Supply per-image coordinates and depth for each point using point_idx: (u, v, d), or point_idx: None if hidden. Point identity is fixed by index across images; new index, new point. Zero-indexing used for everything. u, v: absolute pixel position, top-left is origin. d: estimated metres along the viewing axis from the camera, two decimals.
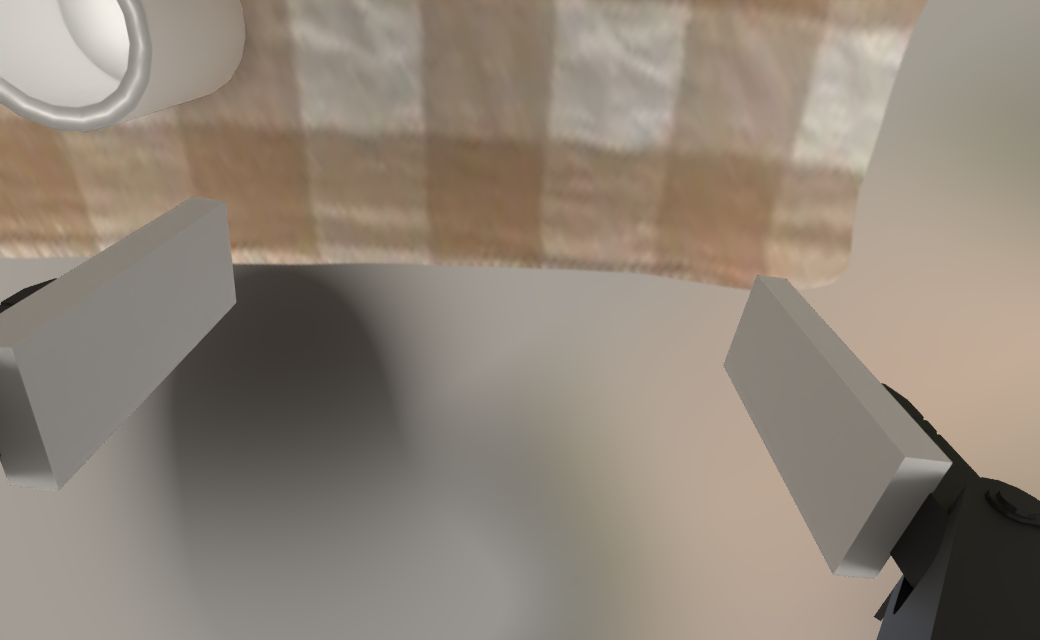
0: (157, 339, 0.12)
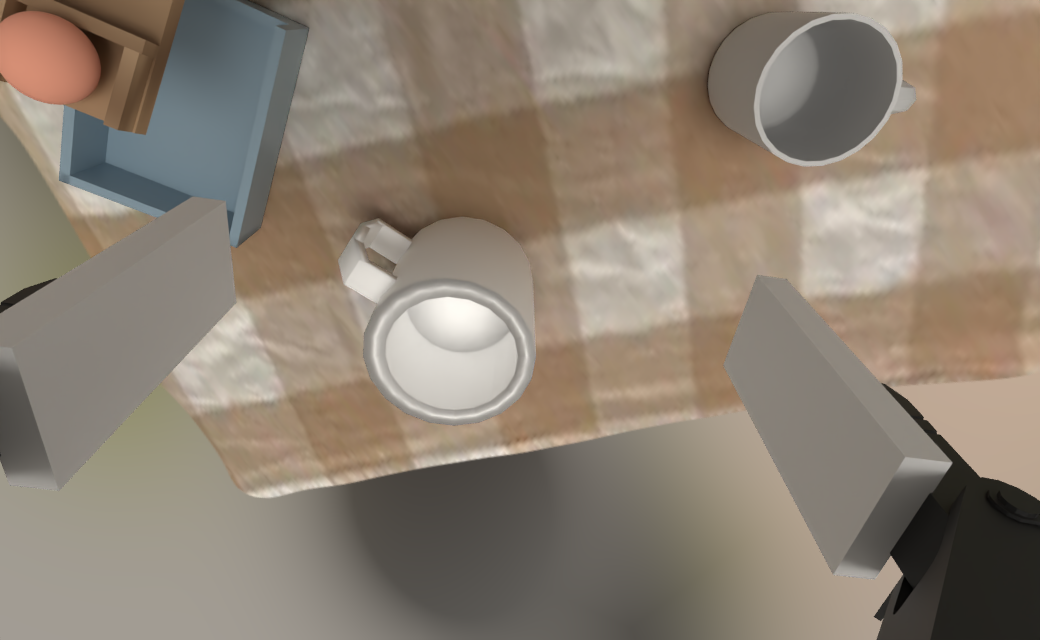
0: (158, 339, 0.12)
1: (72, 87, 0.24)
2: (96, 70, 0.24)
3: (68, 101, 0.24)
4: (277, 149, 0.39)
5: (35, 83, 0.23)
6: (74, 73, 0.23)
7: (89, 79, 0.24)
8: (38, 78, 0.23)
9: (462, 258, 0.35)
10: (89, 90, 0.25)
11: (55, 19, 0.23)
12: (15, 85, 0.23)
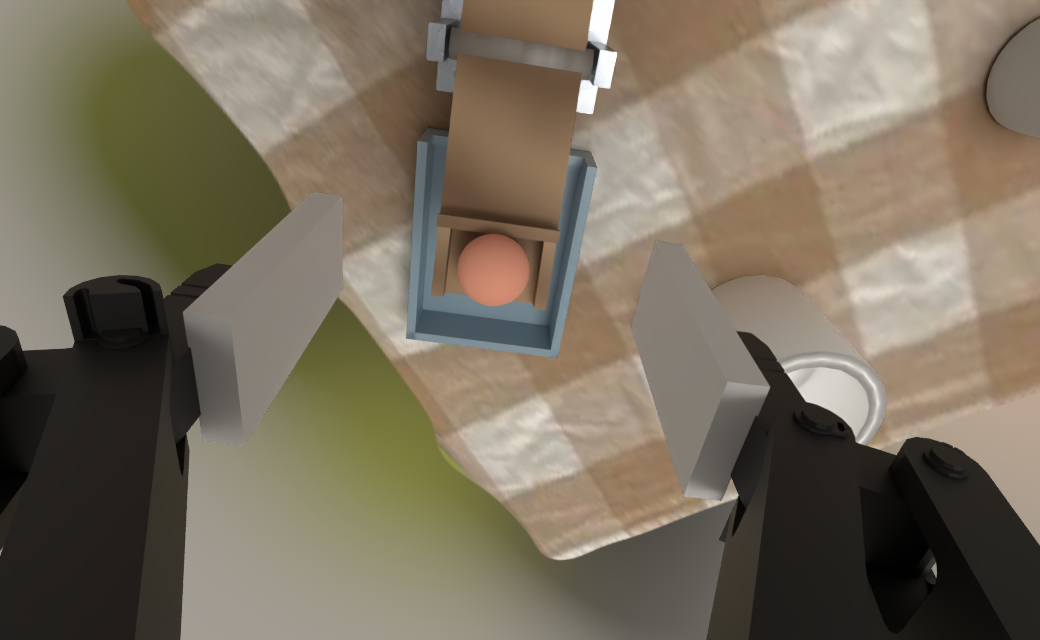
0: (300, 319, 0.13)
1: (522, 289, 0.28)
2: (529, 267, 0.29)
3: (513, 299, 0.29)
4: None
5: (502, 296, 0.27)
6: (525, 278, 0.28)
7: (528, 277, 0.28)
8: (505, 292, 0.27)
9: (789, 325, 0.37)
10: None
11: (503, 239, 0.28)
12: (483, 301, 0.28)
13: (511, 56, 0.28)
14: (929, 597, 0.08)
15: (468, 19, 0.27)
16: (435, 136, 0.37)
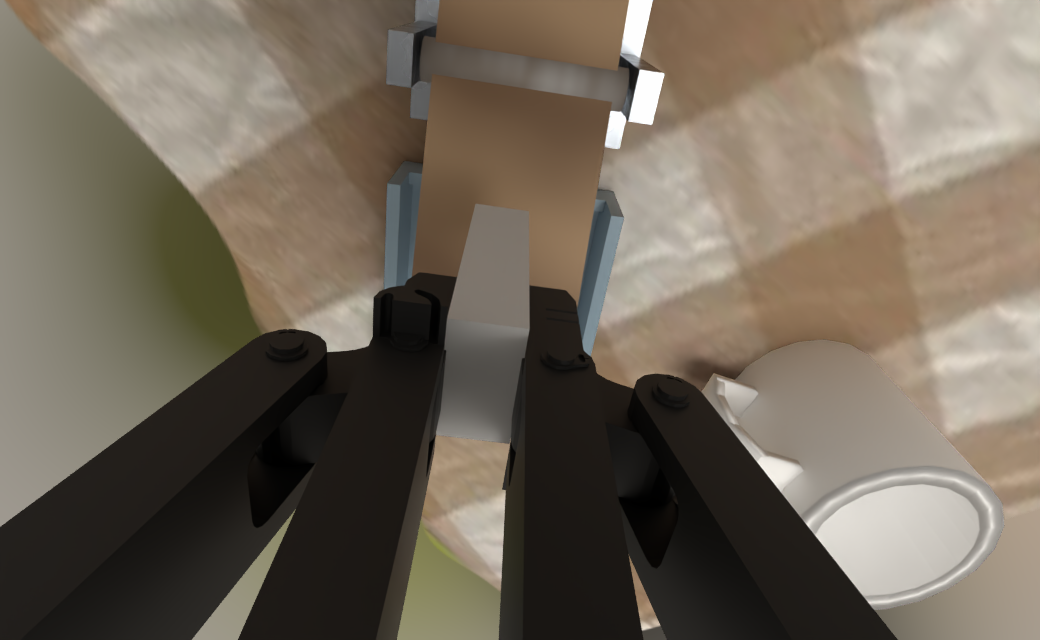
0: None
1: None
2: None
3: None
4: None
5: None
6: None
7: None
8: None
9: (873, 421, 0.29)
10: None
11: None
12: None
13: (509, 78, 0.19)
14: (676, 530, 0.08)
15: (447, 25, 0.19)
16: (412, 173, 0.29)
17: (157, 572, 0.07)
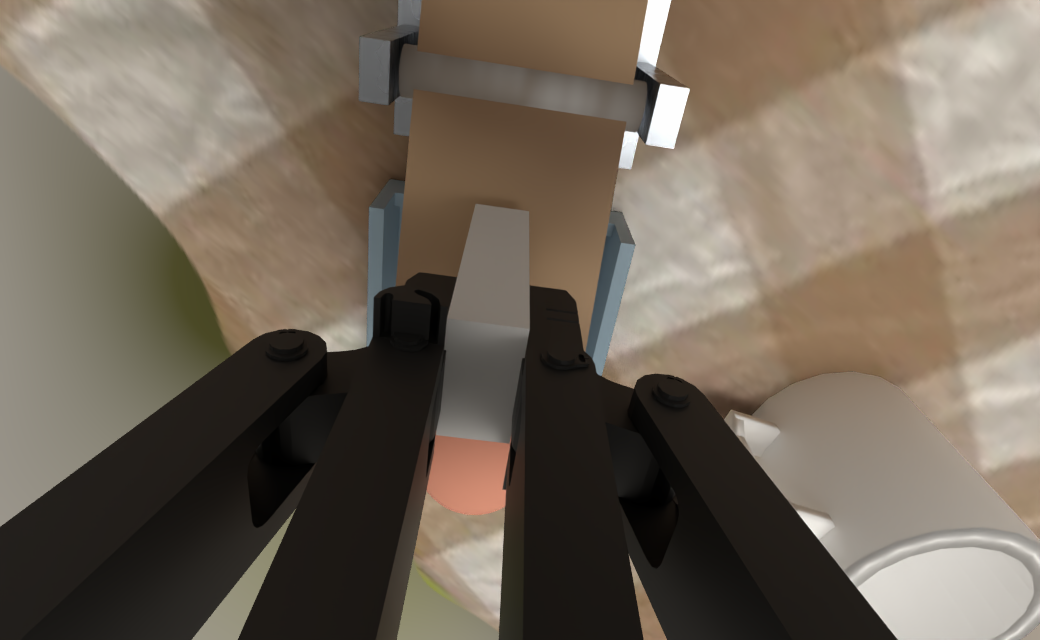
0: None
1: None
2: None
3: None
4: None
5: (489, 508, 0.16)
6: None
7: None
8: (495, 503, 0.16)
9: (913, 471, 0.26)
10: None
11: None
12: (458, 512, 0.16)
13: (505, 95, 0.16)
14: (676, 530, 0.08)
15: (431, 31, 0.16)
16: (399, 194, 0.26)
17: (157, 572, 0.07)
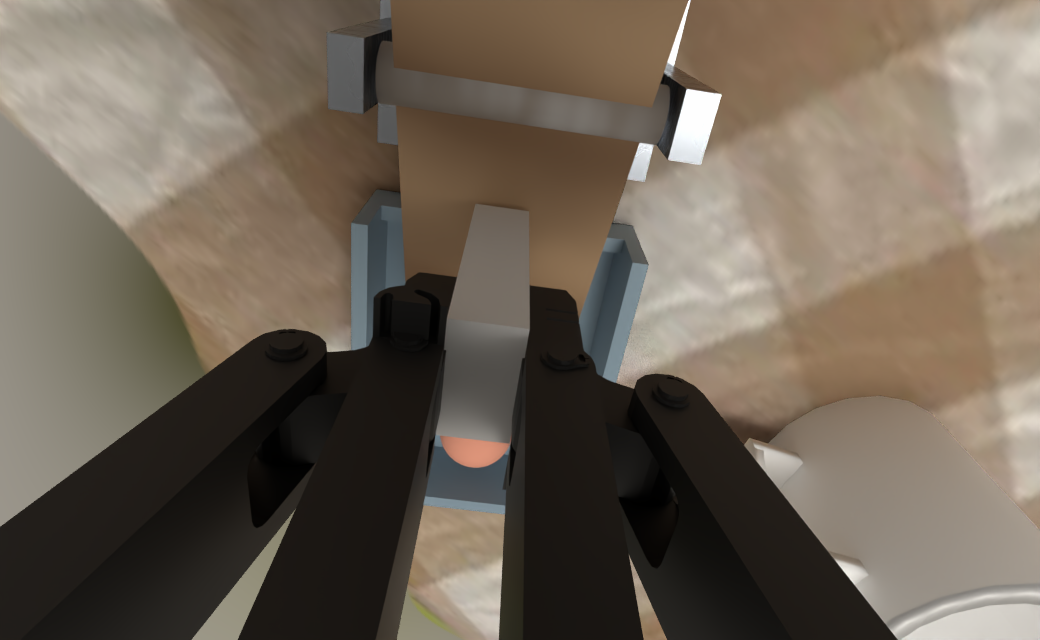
0: None
1: None
2: None
3: None
4: None
5: None
6: None
7: None
8: None
9: (955, 514, 0.23)
10: (510, 441, 0.28)
11: None
12: None
13: (501, 113, 0.14)
14: (676, 530, 0.08)
15: (407, 46, 0.13)
16: (385, 207, 0.23)
17: (157, 572, 0.07)
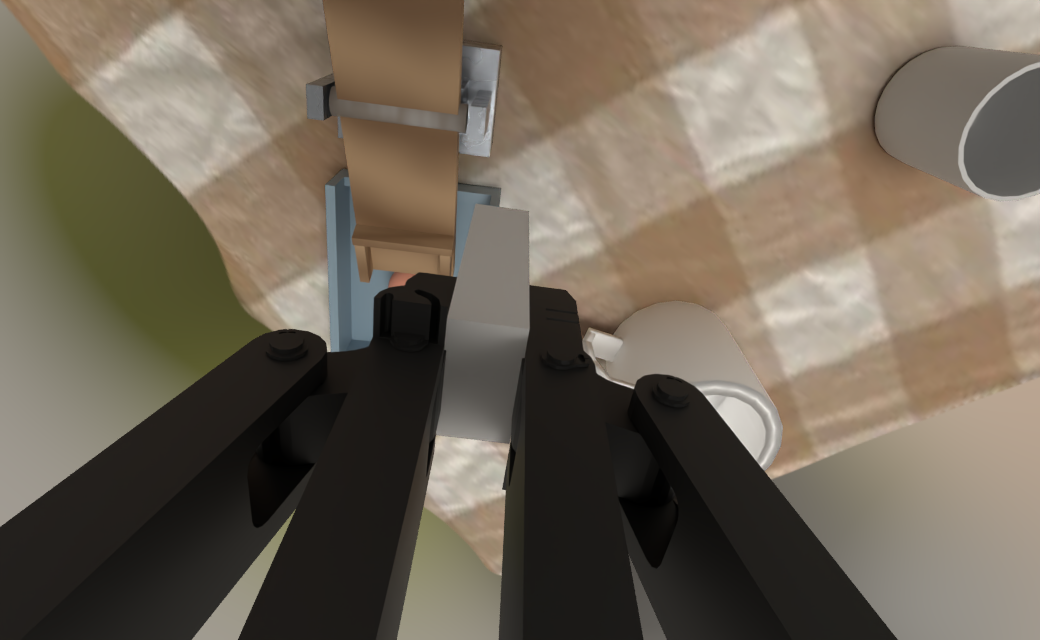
0: None
1: None
2: None
3: None
4: None
5: None
6: None
7: None
8: None
9: (690, 354, 0.39)
10: None
11: None
12: None
13: (389, 119, 0.30)
14: (676, 529, 0.08)
15: (342, 89, 0.29)
16: (346, 177, 0.39)
17: (157, 572, 0.07)
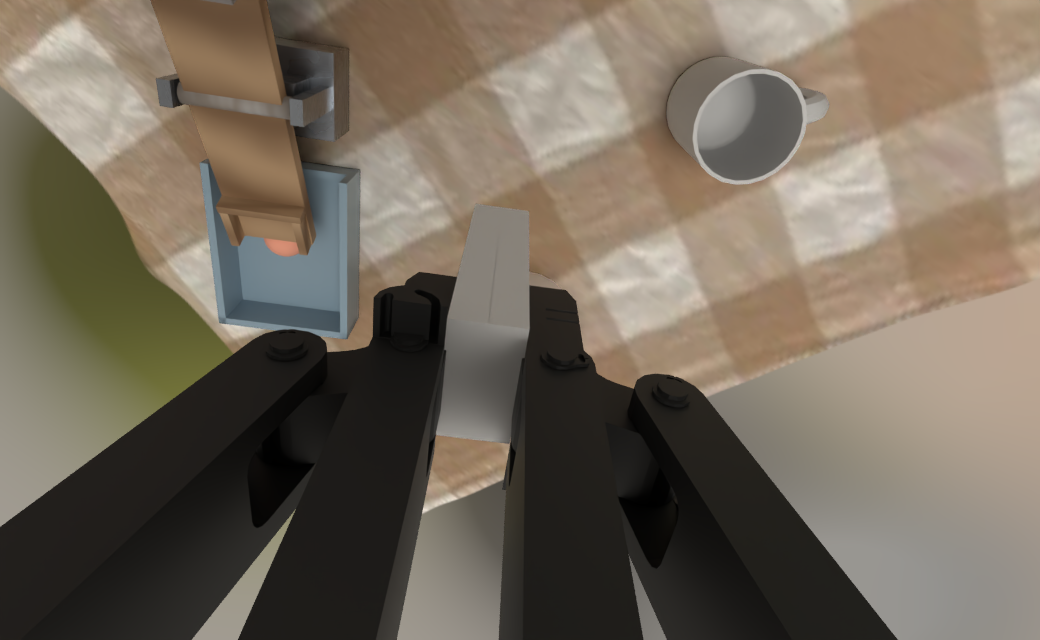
0: None
1: None
2: None
3: None
4: (357, 259, 0.52)
5: None
6: None
7: None
8: None
9: None
10: None
11: (282, 250, 0.48)
12: None
13: (228, 107, 0.37)
14: (676, 530, 0.08)
15: (186, 83, 0.36)
16: None
17: (157, 572, 0.07)
